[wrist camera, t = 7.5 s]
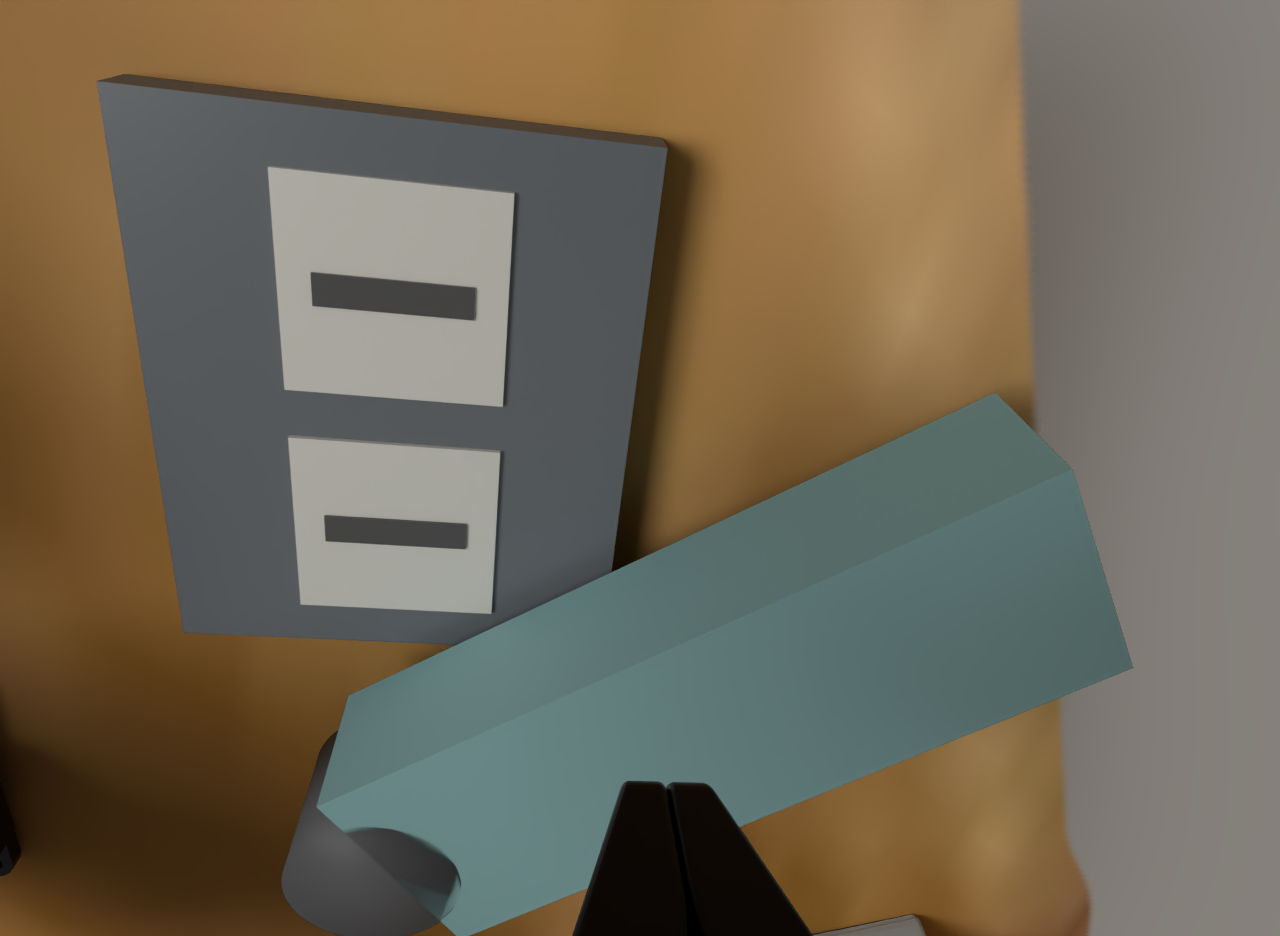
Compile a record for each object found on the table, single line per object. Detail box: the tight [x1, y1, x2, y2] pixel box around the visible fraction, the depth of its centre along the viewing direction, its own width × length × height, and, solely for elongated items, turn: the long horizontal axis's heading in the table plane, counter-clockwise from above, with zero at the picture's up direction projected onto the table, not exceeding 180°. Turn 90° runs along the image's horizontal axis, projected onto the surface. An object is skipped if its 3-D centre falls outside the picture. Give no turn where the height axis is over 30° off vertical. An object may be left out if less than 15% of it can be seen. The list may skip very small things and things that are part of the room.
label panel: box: [97, 74, 668, 645], centre depth 17 cm, size 9×11×1 cm
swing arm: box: [281, 393, 1133, 936], centre depth 19 cm, size 5×17×3 cm, turn 117°
